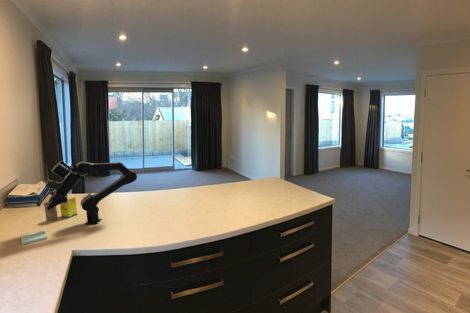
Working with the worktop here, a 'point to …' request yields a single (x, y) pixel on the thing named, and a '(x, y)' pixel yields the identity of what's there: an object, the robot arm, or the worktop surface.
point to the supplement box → (69, 207)
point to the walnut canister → (50, 213)
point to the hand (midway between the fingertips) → (47, 207)
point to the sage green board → (33, 237)
